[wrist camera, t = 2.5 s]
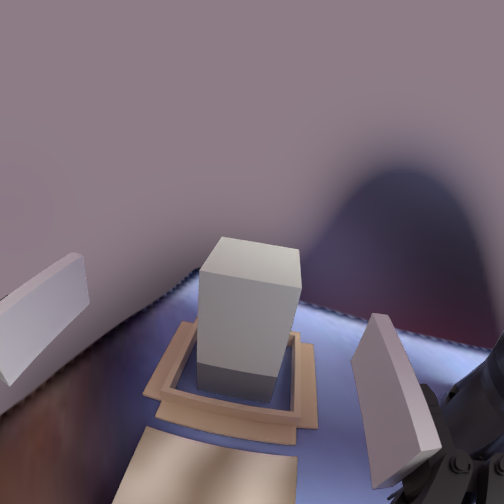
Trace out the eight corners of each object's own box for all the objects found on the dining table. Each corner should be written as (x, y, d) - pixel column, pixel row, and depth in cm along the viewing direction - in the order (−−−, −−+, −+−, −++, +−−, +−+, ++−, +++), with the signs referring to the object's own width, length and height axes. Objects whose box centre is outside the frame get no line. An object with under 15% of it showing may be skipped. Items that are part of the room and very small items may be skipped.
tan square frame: (311, 335, 34) (315, 324, 33) (317, 446, 19) (324, 437, 18) (187, 313, 35) (187, 302, 34) (135, 410, 20) (131, 399, 19)
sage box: (274, 355, 30) (298, 249, 25) (269, 403, 24) (301, 288, 18) (213, 344, 30) (222, 236, 25) (196, 389, 24) (199, 270, 19)
